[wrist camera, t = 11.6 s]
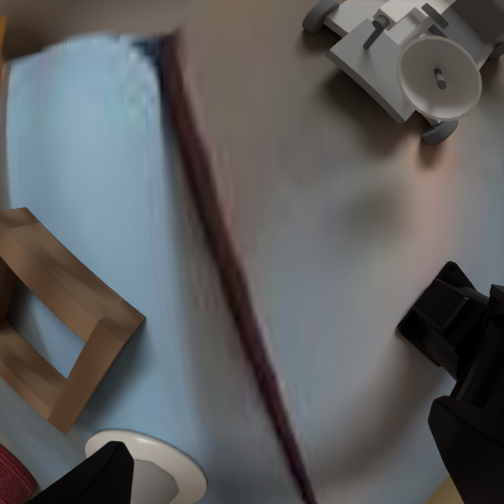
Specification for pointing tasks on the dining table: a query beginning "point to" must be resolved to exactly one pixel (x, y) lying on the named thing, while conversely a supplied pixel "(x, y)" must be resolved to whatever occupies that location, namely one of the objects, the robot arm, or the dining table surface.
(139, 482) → the flask
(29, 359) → the walnut collar
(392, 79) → the toy car
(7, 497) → the canister
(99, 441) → the ceramic plate
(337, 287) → the dining table surface
